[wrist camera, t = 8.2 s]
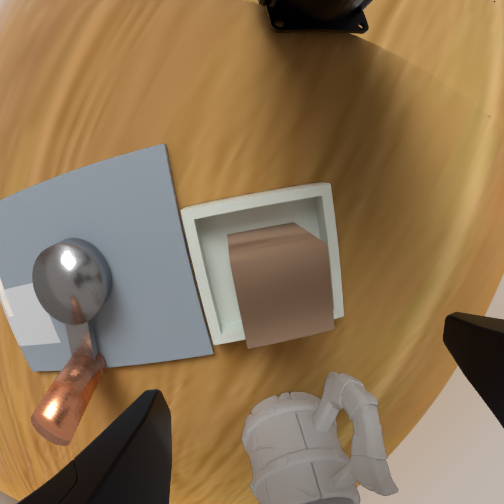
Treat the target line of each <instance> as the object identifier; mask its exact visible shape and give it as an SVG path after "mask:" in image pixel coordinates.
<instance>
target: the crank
mask: <svg viewBox="0 0 504 504" xmlns="http://www.w3.org/2000/svg"><path fill="white" fill-rule="evenodd" d="M32 282H33V288H34V291H35V294H36V297H37V299H38V301H39V302H40V304H41V305H42V307H43V308H44V309H45V311H46V312H47V313H48V314H49V315H51V316H52V317H53V318H54V319H56V320H58V321H60V322H62V323H64V324H65V326H66V331H67V337H68V342H69V346H70V351H71V355H72V356H71V357H70V359H69V360H68V362H67V363H66V365H65V366H64V367H63V369H62V370H61V372H60V373H59V375H58V376H57V378H56V379H55V381H54V382H53V384H52V385H51V387H50V388H49V390H48V391H47V393H46V394H45V396H44V397H43V399H42V400H41V402H40V403H39V405H38V406H37V408H36V410H35V411H34V413H33V414H32V416H31V422H32V424H33V426H34V428H35V429H36V430H37V432H38V433H39V434H40V435H42V436H43V437H44V438H45V439H47V440H48V441H50V442H52V443H54V444H57V445H62V446H66V445H69V444H70V442H71V440H72V438H73V436H74V433H75V431H76V429H77V427H78V425H79V422H80V420H81V418H82V416H83V414H84V412H85V410H86V407H87V405H88V403H89V401H90V399H91V397H92V395H93V393H94V391H95V389H96V387H97V385H98V383H99V381H100V379H101V377H102V375H103V373H104V371H105V369H106V362H105V359H104V357H103V356H102V354H101V353H100V352H99V351H98V346H97V340H96V334H95V327H94V320H93V317H94V316H95V314H96V313H97V312H98V311H99V309H100V308H101V307H102V306H103V304H104V303H105V302H106V301H107V299H108V297H109V295H110V292H111V287H112V276H111V271H110V268H109V265H108V263H107V261H106V259H105V257H104V256H103V254H102V253H101V252H100V251H99V250H98V249H97V247H95V246H94V245H93V244H91V243H90V242H88V241H86V240H83V239H80V238H69V239H65V240H62V241H60V242H58V243H56V244H54V245H52V246H50V247H48V248H46V249H45V250H43V251H42V252H41V253H40V254H39V256H38V257H37V259H36V261H35V263H34V266H33V272H32Z"/></svg>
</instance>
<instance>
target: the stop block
mask: <svg viewBox="0 0 504 504" xmlns="http://www.w3.org/2000/svg"><path fill="white" fill-rule="evenodd" d="M227 240H228V249H229V259H230V266H231V271H232V276H233V281H234V286H235V291H236V296H237V301H238V306H239V310H240V315H241V320H242V325H243V329H244V334H245V339H246V343H247V348H248V349H250V348H255V347H260V346H265V345H270V344H275V343H279V342H284V341H289V340H293V339H297V338H302V337H306V336H310V335H314V334H319V333H323V332H327V331H331V330H334V314H333V299H332V286H331V274H330V263H329V253H328V245H327V244H326V243H324V242H323V241H321V240H320V239H318V238H317V237H315V236H314V235H313V234H311V233H310V232H308V231H307V230H305V229H304V228H302V227H301V226H299V225H298V224H296V223H294V222H292V223H286V224H281V225H275V226H270V227H264V228H259V229H253V230H248V231H243V232H237V233H232V234H227Z"/></svg>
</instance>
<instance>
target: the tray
mask: <svg viewBox="0 0 504 504" xmlns="http://www.w3.org/2000/svg"><path fill="white" fill-rule="evenodd" d="M181 215H182V220H183V224H184V229H185V233H186V238H187V242H188V247H189V251H190V255H191V259H192V263H193V268H194V272H195V276H196V280H197V284H198V288H199V292H200V296H201V300H202V303H203V307H204V311H205V315H206V319H207V322H208V326H209V330H210V333H211V337H212V340H213V344H214V345H219V344H224V343H230V342H235V341H240V340H245V334H244V329H243V325H242V320H241V315H240V310H239V306H238V301H237V296H236V291H235V286H234V281H233V276H232V271H231V266H230V259H229V249H228V240H227V234H232V233H237V232H243V231H248V230H253V229H259V228H264V227H270V226H275V225H281V224H286V223H292V222H294V223H296V224H298V225H299V226H301V227H302V228H304V229H305V230H307V231H308V232H310V233H311V234H313V235H314V236H315V237H317V238H318V239H320V240H321V241H323V242H324V243H326V244H327V245H328V253H329V263H330V274H331V286H332V299H333V314H334V319H337V318H341V317H344V310H343V295H342V281H341V269H340V258H339V248H338V239H337V230H336V221H335V213H334V205H333V198H332V191H331V184H330V183H322V182H318V183H311V184H305V185H299V186H292V187H286V188H281V189H275V190H269V191H263V192H258V193H252V194H247V195H242V196H236V197H231V198H226V199H221V200H216V201H211V202H206V203H201V204H197V205H192V206H187V207H184V208H183V209H182V210H181Z"/></svg>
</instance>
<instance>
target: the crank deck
mask: <svg viewBox="0 0 504 504" xmlns="http://www.w3.org/2000/svg"><path fill="white" fill-rule="evenodd" d="M69 238H80V239H83V240H86V241H88V242H90V243H91V244H93V245H94V246H95V247H97V249H98V250H99V251H100V252H101V253H102V254H103V256H104V257H105V259H106V261H107V263H108V265H109V268H110V271H111V276H112V287H111V292H110V295H109V297H108V299H107V301H106V302H105V303H104V304H103V306H102V307H101V308H100V309H99V311H98V312H97V313H96V314H95V316H94V317H93V320H94V327H95V334H96V340H97V346H98V351H99V352H100V353H101V354H102V356H103V357H104V359H105V362H106V368H108V367H119V366H129V365H139V364H147V363H156V362H163V361H171V360H178V359H185V358H191V357H198V356H204V355H210V354H214V349H213V345H212V342H211V338H210V335H209V331H208V328H207V324H206V320H205V317H204V313H203V309H202V305H201V302H200V298H199V294H198V290H197V286H196V282H195V278H194V274H193V270H192V266H191V262H190V257H189V253H188V249H187V245H186V240H185V236H184V231H183V227H182V222H181V218H180V213H179V209H178V204H177V199H176V194H175V189H174V184H173V179H172V174H171V169H170V163H169V158H168V153H167V147H166V144H160V145H156V146H152V147H149V148H145V149H141V150H137V151H134V152H130V153H127V154H123V155H120V156H116V157H113V158H110V159H107V160H103V161H100V162H97V163H94V164H91V165H88V166H85V167H82V168H79V169H76V170H73V171H71V172H68V173H65V174H62V175H60V176H57V177H54V178H52V179H49V180H46V181H44V182H41V183H39V184H36V185H34V186H31V187H29V188H27V189H24V190H22V191H20V192H17V193H15V194H13V195H10V196H8V197H6V198H4V199H2V200H0V301H1V304H2V306H3V309H4V312H5V314H6V317H7V319H8V322H9V324H10V326H11V329H12V331H13V333H14V335H15V338H16V340H17V342H18V344H19V346H20V348H21V350H22V352H23V354H24V356H25V358H26V360H27V362H28V364H29V366H30V368H31V370H32V371H61V370H62V369H63V367H64V366H65V365H66V363H67V362H68V360H69V359H70V357H71V356H72V355H71V351H70V346H69V342H68V337H67V331H66V326H65V324H64V323H62V322H60V321H58V320H56V319H54V318H53V317H52V316H51V315H49V314H48V313H47V312H46V311H45V309H44V308H43V307H42V305H41V304H40V302H39V301H38V299H37V297H36V294H35V291H34V288H33V282H32V272H33V266H34V263H35V261H36V259H37V257H38V256H39V254H40V253H41V252H42V251H43V250H45V249H46V248H48V247H50V246H52V245H54V244H56V243H58V242H60V241H62V240H65V239H69Z"/></svg>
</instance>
